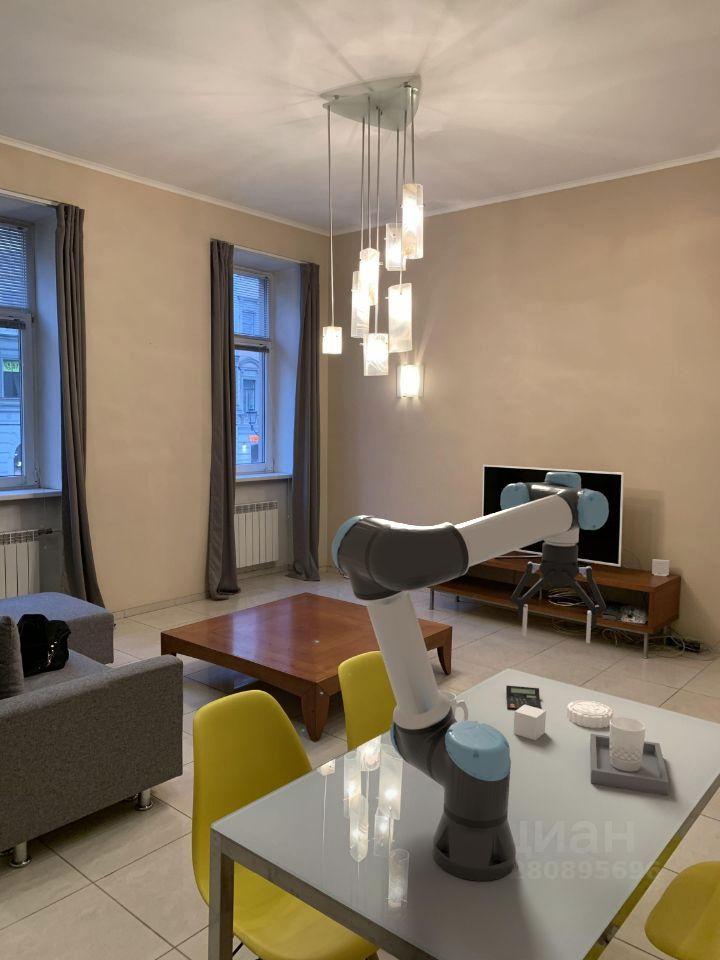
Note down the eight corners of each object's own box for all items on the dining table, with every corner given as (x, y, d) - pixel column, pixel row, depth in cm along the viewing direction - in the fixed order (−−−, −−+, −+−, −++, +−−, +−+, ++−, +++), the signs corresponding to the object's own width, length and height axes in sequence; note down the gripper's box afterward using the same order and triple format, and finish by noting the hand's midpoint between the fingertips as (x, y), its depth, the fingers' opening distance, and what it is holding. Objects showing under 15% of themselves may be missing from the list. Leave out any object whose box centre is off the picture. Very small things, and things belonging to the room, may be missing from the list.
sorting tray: (667, 795, 157) (668, 782, 157) (590, 782, 162) (591, 770, 162) (658, 755, 177) (659, 743, 176) (589, 745, 181) (590, 733, 181)
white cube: (523, 726, 192) (524, 704, 191) (544, 732, 188) (546, 710, 188) (513, 733, 187) (514, 711, 186) (535, 740, 183) (536, 717, 183)
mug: (429, 749, 177) (431, 701, 176) (425, 737, 184) (426, 691, 183) (470, 748, 178) (472, 701, 177) (464, 736, 184) (466, 690, 183)
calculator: (507, 710, 203) (507, 699, 202) (505, 694, 214) (506, 684, 214) (541, 713, 201) (542, 703, 201) (538, 697, 213) (538, 687, 212)
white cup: (617, 754, 175) (619, 713, 174) (649, 765, 169) (651, 724, 168) (601, 764, 169) (603, 722, 169) (633, 776, 164) (636, 734, 163)
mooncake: (569, 727, 192) (570, 713, 192) (563, 709, 204) (564, 696, 204) (616, 731, 191) (617, 717, 190) (608, 712, 202) (608, 700, 202)
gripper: (620, 544, 158) (614, 639, 160) (504, 536, 165) (500, 627, 167) (621, 550, 151) (616, 649, 153) (500, 541, 158) (496, 636, 160)
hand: (555, 638), depth 160 cm, fingers open, 13 cm apart
